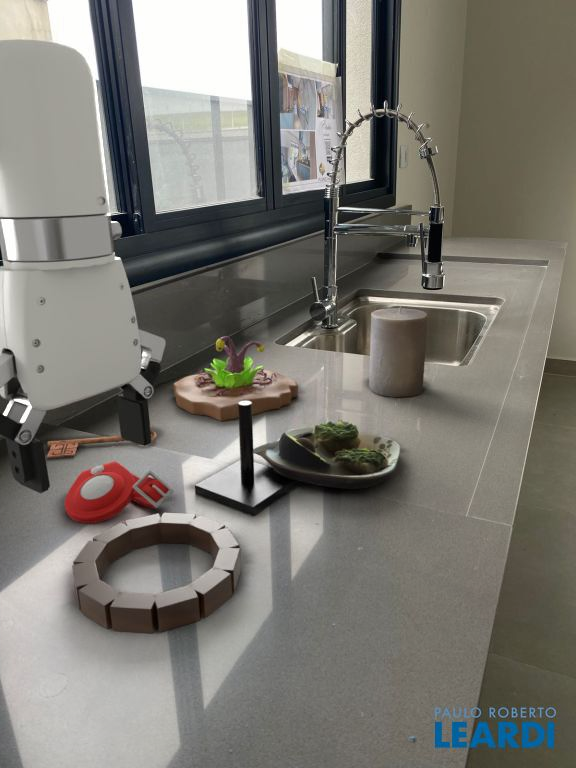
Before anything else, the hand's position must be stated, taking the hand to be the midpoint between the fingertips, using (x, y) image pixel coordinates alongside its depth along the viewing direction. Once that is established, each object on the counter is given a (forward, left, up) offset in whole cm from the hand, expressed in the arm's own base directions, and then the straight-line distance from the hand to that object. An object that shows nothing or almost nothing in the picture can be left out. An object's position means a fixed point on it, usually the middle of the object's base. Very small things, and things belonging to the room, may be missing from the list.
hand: (89, 462), depth 48 cm
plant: (-27, +48, -15) cm, 57 cm away
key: (-29, +22, -14) cm, 39 cm away
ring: (0, +6, -14) cm, 16 cm away
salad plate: (+1, +35, -14) cm, 37 cm away
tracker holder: (-14, +12, -15) cm, 23 cm away
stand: (-4, +24, -14) cm, 28 cm away
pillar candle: (-6, +68, -15) cm, 70 cm away
